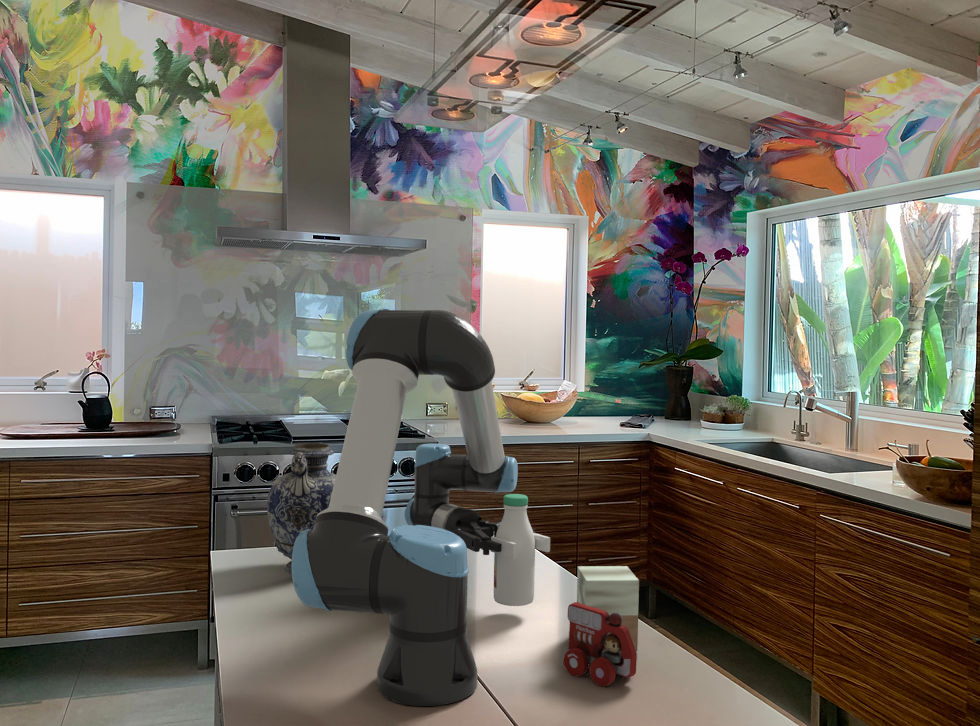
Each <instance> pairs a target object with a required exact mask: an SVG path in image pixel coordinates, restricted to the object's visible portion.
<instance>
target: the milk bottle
mask: <svg viewBox="0 0 980 726" xmlns="http://www.w3.org/2000/svg"><path fill="white" fill-rule="evenodd" d="M528 504H529V498H528V496H527V495H525V494H522V493H521V494H520V493H508V494H505V495H504V496H503V508H504V511H503V512H504V513H503V516H502V519H501V520H500V521H501V523H500V526H499V528H498V530H497V533H496V537H497V538H500V539H503V540H507V541H510V542H513V543H516V544H517V553H516V559H512V558H509V557H506V556H503V555H500V554H497V553H494V552H493V553H494V555H493V559H494V560H493V562H494V563H493V599H494V601H495V603H497V604H498V605H499V604H500V605H503V606H508V607H523V606H528V605H530V604H532V603H533V601H534V600H535V585H536V583H535V574H536V573H535V572H536V549H535V539H534V533H533V530H532V528H533V527H532V526H531V523H530V520H529V517H528V513H527V512H528V511H527V509H528V506H529V505H528Z"/></svg>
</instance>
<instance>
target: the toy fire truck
mask: <svg viewBox="0 0 980 726" xmlns="http://www.w3.org/2000/svg"><path fill="white" fill-rule="evenodd" d="M567 619H568V621H569V629H568V645H567V646H568V649H567V651H566V652H565V653H564V656H563V665H564V668H565V671H567V673H568V674H569V675H571V676H572V677H580V676H582V675H584V674H586V673H587V672H588V670H589V675H590V678H591V679H592V681H593V683H595V684H596V685H598V686H599V687H608V686H609V685H612V684H613V682H615V678H616V675H617V676H618V677H624V678H627V679H628V678H632V677H634V676H635V675H636V673H637V661H638V652H637V650H635V647H634V644H633V641H632V638H631V635H630V632H629V630H628V628H627V627H626V626H624V625H620V624H621V623H622V617H621V615H620V614H618V613H612V614H611V615H609V613H608V612H606V611H604V610H601V609H597V608H594V607H591V606H587V605H584V604H581V603H577V601H576V602H572V603H570V604H569V605H568V607H567ZM608 633H611V634H609V635H607V634H608Z"/></svg>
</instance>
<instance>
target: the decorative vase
mask: <svg viewBox="0 0 980 726" xmlns="http://www.w3.org/2000/svg"><path fill="white" fill-rule="evenodd" d="M289 454H290V455H291V456H292V459H291V467H290V472H288V473H286V474H283V475H282V476H280V477H279V478H278V479H276V480H275V482H274V483H273V484H272V485H271V487H270V489H269V492H268V495H267V503H266V505H267V506H266V507H267V520H268V524H269V528H270V531H271V533H272V537H273V542H274V543H275V546H276V549H277V551H278V552H279V553H281V554H282V555H283V556H284V557H287V558H289V559H290V560H291V561H289V562H287V563H286V564H285V566H284V571H285V572H286V573H288V574H290V575H292V553H293V547H294V543H295V540H296V538H297V537H298V536H299V534H300V532H302V531H304V530H307V529H311V530H313V528H314V524H315V520H316V517H317V515H318V514H319V513H320V512H322V511H323V510H325V509H327V508H328V507H329V503H330V499H331V495H332V491H333V487H334V482H335V478H336V474H337V473H336V474H335V473H332V472H330V471H329V470H328V467H329V465H328V461H329V460H328V459H329V456H333V455H334V450H332V449H331V448H330V445H329V444H326V443H323V442H318V443H316V442H312V443H311V442H306V443H305V442H303V443H297V444H296V443H295V444H294V445H293V448H291V449H290V450H289Z"/></svg>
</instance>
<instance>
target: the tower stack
mask: <svg viewBox="0 0 980 726" xmlns="http://www.w3.org/2000/svg"><path fill="white" fill-rule="evenodd" d="M576 579H577V583H576V584H577V585H576V602H577V603H581V604H584V605H587V606H591V607H594V608H597V609H601V610H604V611H606V612H608V613H609V615H611V614H612V613H618V614H620V615H621V617H622V623H621V624H620V625H624V626H626V627H627V628H628V630H629V632H630V635H631V638H632V641H633V644H634V647H635V650H636V651H638V646H639V645H638V642H639V641H638V639H639V635H638V634H639V633H638V632H639V597H640V595H639V594H640V593H639V591H640V579H639V578H638V577H636V575H635V574H634V572H632V570H631V569H630V568H629V566H627V565H625V566H624V565H623V566H621V565H615V566H614V565H607V566H605V565H604V566H603V565H600V566H599V565H595V566H593V565H592V566H591V565H590V566H589V565H588V566H587V565H586V566H585V565H584V566H583V565H580V566H578V565H577V578H576ZM609 634H611V633H608V634H607V635H609Z"/></svg>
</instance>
